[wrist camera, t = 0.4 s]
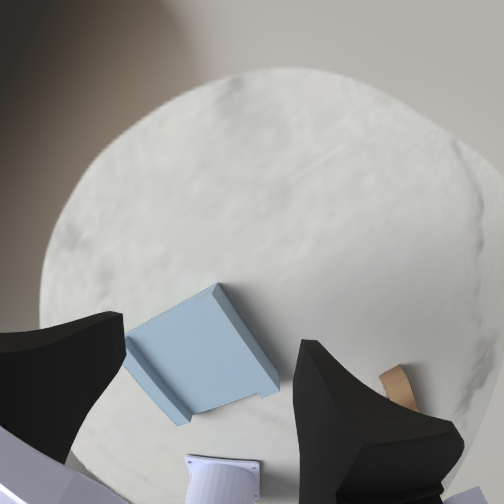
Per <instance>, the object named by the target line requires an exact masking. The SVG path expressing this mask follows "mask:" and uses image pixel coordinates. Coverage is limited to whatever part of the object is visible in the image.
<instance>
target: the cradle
mask: <svg viewBox="0 0 504 504" xmlns="http://www.w3.org/2000/svg"><path fill="white" fill-rule="evenodd" d="M124 335H125V344H126V353H127V356H126V358H125V360H124V362H123V366H124V367H125V368H126V369H127V371H128V372H129V373H130V374H131V376H132V377H133V378H134V379H135V380H136V382H137V383H138V384H139V385H140V386H141V388H142V389H143V390H144V391H145V392H146V393H147V395H148V396H149V397H150V398H151V399H152V400H153V401H154V402H155V404H156V405H157V406H158V407H159V408H160V409H161V410H162V411H163V412H164V413H165V414H166V415H167V416H168V418H169V419H170V420H171V421H172V422H173V423H174V424H175V425H176V426H179V425H183V424H187V423H190V421H191V418H192V415H194V414H198V413H201V412H204V411H207V410H210V409H213V408H216V407H219V406H222V405H225V404H227V403H230V402H233V401H236V400H239V399H241V398H244V397H246V396H249V395H252V394H254V393H257V392H258V394H259V395H260V396H261V397H262V398H264V397H266V396H269V395H271V394H274V393H276V392H279V391H280V376H279V373H278V371H277V370H276V369H275V367H274V366H273V364H272V363H271V362H270V360H269V359H268V357H267V356H266V354H265V353H264V351H263V350H262V349H261V347H260V346H259V344H258V343H257V341H256V340H255V338H254V337H253V335H252V334H251V332H250V331H249V329H248V328H247V327H246V325H245V324H244V322H243V321H242V319H241V318H240V316H239V315H238V313H237V312H236V310H235V309H234V307H233V305H232V304H231V302H230V301H229V299H228V298H227V296H226V295H225V293H224V292H223V290H222V289H221V287H220V286H219V284H218V283H216V284H214V285H212V286H211V287H209V288H207V289H205V290H203V291H202V292H200V293H198V294H196V295H194V296H193V297H191V298H189V299H187V300H185V301H184V302H182V303H180V304H178V305H176V306H175V307H173V308H171V309H169V310H167V311H165V312H164V313H162V314H160V315H158V316H156V317H155V318H153V319H151V320H149V321H147V322H145V323H144V324H142V325H140V326H138V327H136V328H135V329H133V330H131V331H129V332H127V333H125V334H124Z"/></svg>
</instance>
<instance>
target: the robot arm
mask: <svg viewBox="0 0 504 504" xmlns="http://www.w3.org/2000/svg"><path fill="white" fill-rule="evenodd" d="M126 356H127V353H126V344H125V335H124V325H123V314H122V313H117V312H112V311H107V312H102V313H98V314H95V315H91V316H88V317H85V318H82V319H78V320H75V321H72V322H68V323H64V324H61V325H57V326H53V327H49V328H45V329H39V330H33V331H26V332H12V333H0V504H128V503H127V501H125V500H124V499H122V498H121V497H119V496H118V495H116V494H115V493H113V492H112V491H110V490H109V489H108V488H106V487H105V486H103V485H101V484H99V483H97V482H95V481H93V480H92V479H90V478H88V477H86V476H84V475H82V474H81V473H79V472H77V471H75V470H73V469H71V468H68V467H67V466H65V465H64V464H65V462H66V459H67V456H68V454H69V451H70V449H71V446H72V444H73V442H74V440H75V437H76V435H77V433H78V431H79V429H80V427H81V425H82V423H83V421H84V420H85V418H86V416H87V414H88V412H89V411H90V409H91V408H92V406H93V405H94V404H95V402H96V401H97V400H98V398H99V397H100V396H101V394H102V393H103V392H104V390H105V389H106V388H107V386H108V385H109V384H110V382H111V381H112V380H113V378H114V377H115V376H116V374H117V373H118V371H119V369H120V367H121V366H122V364H123V362H124V360H125V358H126ZM293 407H294V414H295V421H296V428H297V435H298V442H299V452H300V490H299V504H488V503H487V501H486V499H485V497H484V495H483V493H482V491H481V489H480V487H474V488H472V489H469V490H467V491H464V492H462V493H459V494H457V495H454V496H452V497H450V498H448V499H446V500H445V501H443V502H442V500H441V497H440V494H442V493H443V492H444V488H443V486H442V483H441V481H442V480H443V479H444V478H445V476H446V475H447V474H448V473H449V472H450V470H451V469H452V468H453V467H454V466H455V464H456V463H457V461H458V460H459V458H460V457H461V455H462V453H463V450H464V447H465V446H464V440H463V439H462V437H461V435H460V434H459V432H458V431H457V429H456V427H455V426H454V424H453V423H452V421H447V420H443V419H439V418H435V417H431V416H428V415H424V414H421V413H419V412H416V411H413V410H410V409H408V408H406V407H403V406H401V405H399V404H397V403H395V402H393V401H391V400H389V399H387V398H385V397H383V396H382V395H380V394H378V393H377V392H375V391H374V390H372V389H371V388H369V387H368V386H366V385H365V384H363V383H362V382H361V381H359V380H358V379H357V378H356V377H354V376H353V375H352V374H351V373H350V372H349V371H347V370H346V369H345V368H344V367H343V366H342V365H341V364H340V363H339V362H338V361H337V360H336V359H335V358H334V357H333V356H332V355H331V354H330V353H329V352H328V351H327V350H326V349H325V348H324V347H323V346H322V345H321V344H320V343H319V342H318V341H317V340H304V339H301V344H300V350H299V355H298V360H297V364H296V369H295V374H294V379H293ZM185 461H186V465H187V468H188V471H189V474H190V477H191V480H190V484H189V488H188V491H187V495H186V498H185V502H184V504H254V501H257V500H259V498H260V463H259V462H257V461H242V460H228V459H216V458H207V457H199V456H191V455H186V456H185Z"/></svg>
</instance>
